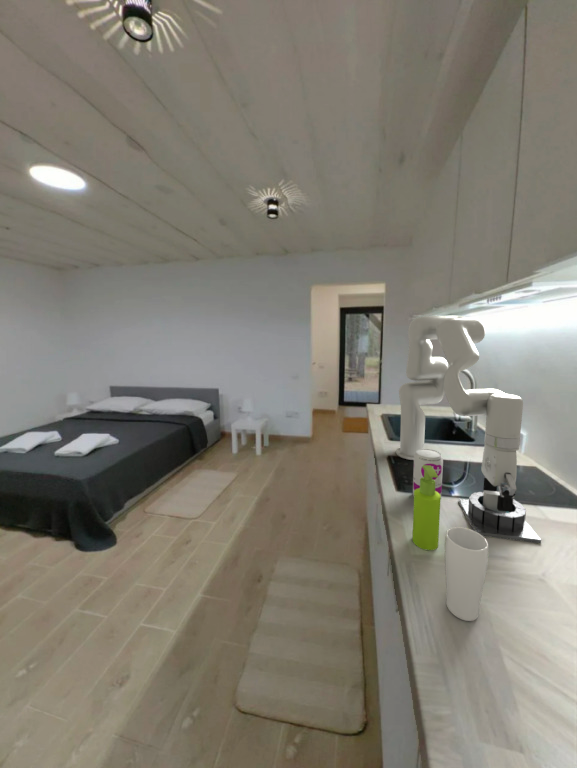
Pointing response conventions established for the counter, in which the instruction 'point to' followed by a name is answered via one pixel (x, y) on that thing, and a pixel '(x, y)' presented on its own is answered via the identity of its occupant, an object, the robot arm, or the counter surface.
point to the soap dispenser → (426, 512)
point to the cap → (491, 500)
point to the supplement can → (432, 460)
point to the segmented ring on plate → (498, 520)
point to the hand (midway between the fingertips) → (496, 500)
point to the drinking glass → (465, 571)
